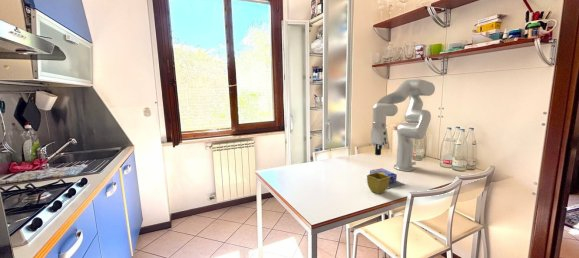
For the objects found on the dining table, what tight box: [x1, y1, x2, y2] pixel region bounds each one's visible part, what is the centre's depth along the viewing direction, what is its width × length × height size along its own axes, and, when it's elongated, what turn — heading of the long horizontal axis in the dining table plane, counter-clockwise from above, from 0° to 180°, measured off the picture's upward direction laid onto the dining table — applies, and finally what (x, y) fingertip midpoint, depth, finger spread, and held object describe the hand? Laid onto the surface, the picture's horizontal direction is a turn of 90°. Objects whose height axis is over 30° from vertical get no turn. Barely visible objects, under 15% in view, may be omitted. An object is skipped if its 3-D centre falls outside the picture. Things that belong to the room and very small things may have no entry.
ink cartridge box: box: [369, 168, 398, 184], centre depth 150 cm, size 10×6×14 cm
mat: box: [386, 180, 405, 190], centre depth 149 cm, size 14×15×1 cm
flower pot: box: [366, 173, 390, 195], centre depth 136 cm, size 9×9×9 cm
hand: (378, 154), depth 154 cm, fingers closed
